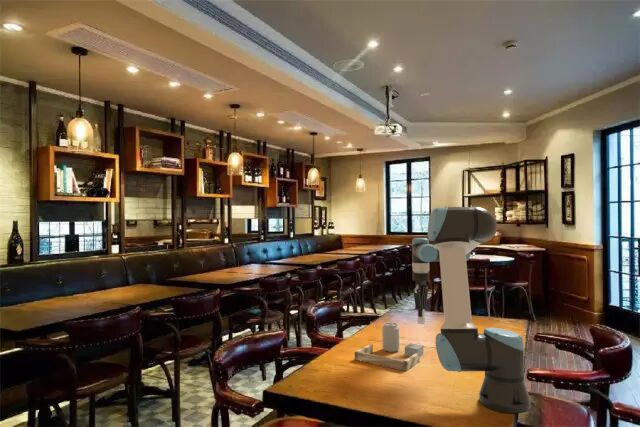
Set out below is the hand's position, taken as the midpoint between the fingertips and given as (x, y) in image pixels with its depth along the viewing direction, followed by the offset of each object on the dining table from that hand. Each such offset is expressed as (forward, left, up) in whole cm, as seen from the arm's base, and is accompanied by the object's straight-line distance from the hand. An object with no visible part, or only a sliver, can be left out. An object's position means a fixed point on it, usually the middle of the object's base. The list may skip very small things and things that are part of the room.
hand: (421, 323), depth 194 cm
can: (-9, +11, -12) cm, 19 cm away
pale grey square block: (-10, -1, -12) cm, 15 cm away
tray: (-24, +6, -12) cm, 27 cm away
